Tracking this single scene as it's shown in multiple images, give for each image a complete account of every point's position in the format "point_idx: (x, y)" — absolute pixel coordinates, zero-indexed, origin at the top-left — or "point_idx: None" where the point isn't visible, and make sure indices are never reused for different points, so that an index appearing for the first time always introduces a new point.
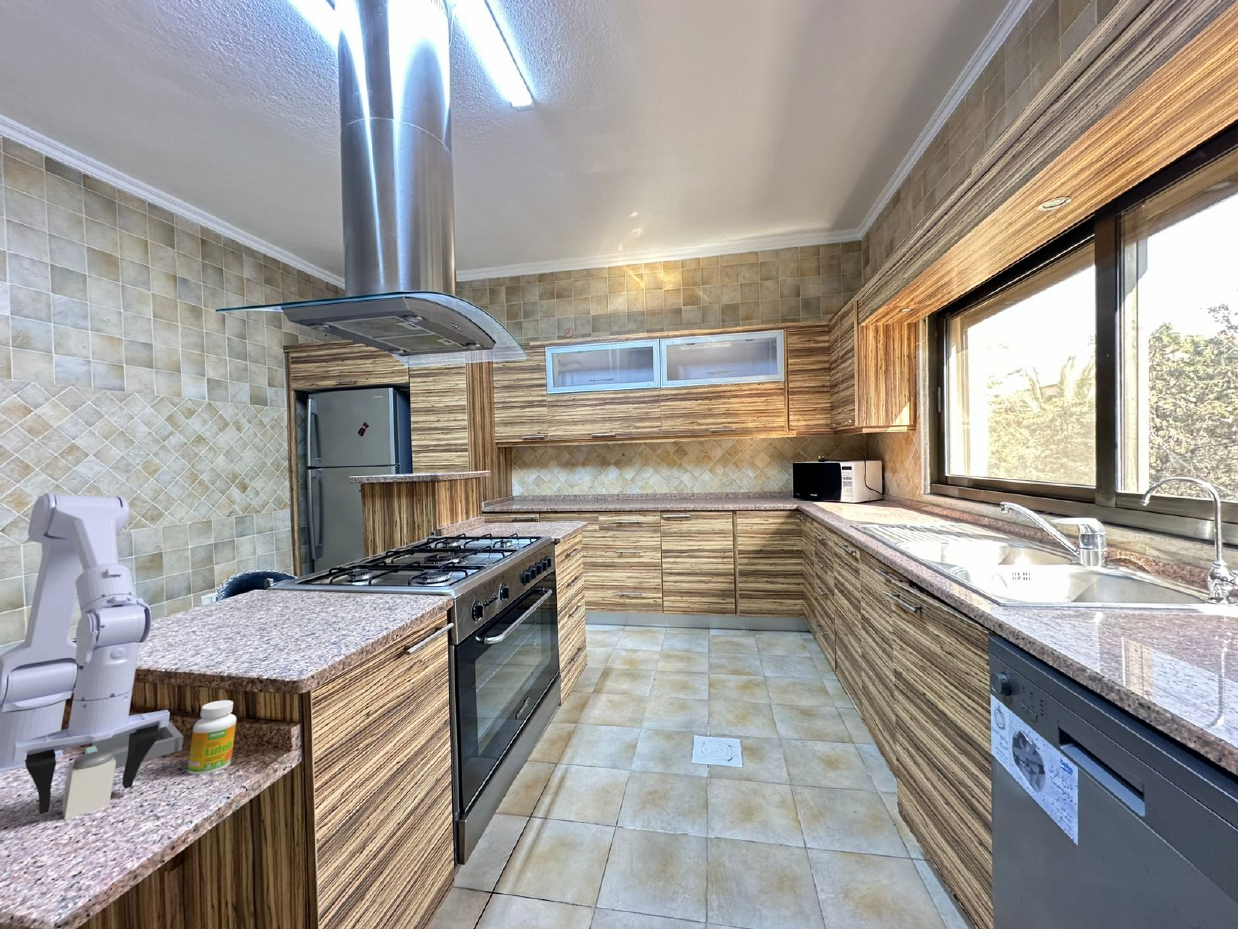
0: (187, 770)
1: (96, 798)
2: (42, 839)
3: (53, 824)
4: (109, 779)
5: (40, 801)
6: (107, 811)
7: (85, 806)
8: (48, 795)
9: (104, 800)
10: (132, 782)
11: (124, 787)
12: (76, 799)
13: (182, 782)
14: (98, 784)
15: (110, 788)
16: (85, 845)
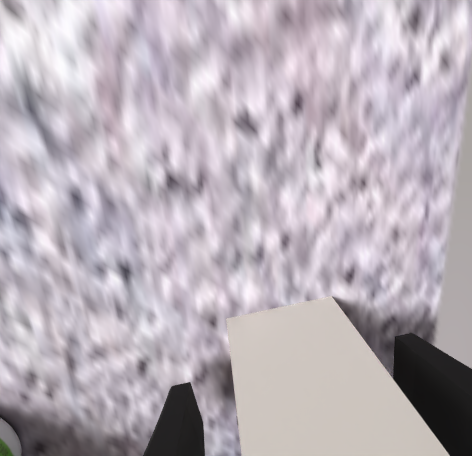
0: (18, 449)
1: (273, 347)
2: (384, 209)
3: (355, 298)
4: (253, 416)
5: (464, 366)
6: (227, 295)
7: (296, 328)
8: (462, 382)
9: (245, 337)
10: (166, 403)
11: (192, 392)
12: (341, 350)
13: (21, 380)
14: (290, 399)
15: (237, 375)
16: (275, 33)
